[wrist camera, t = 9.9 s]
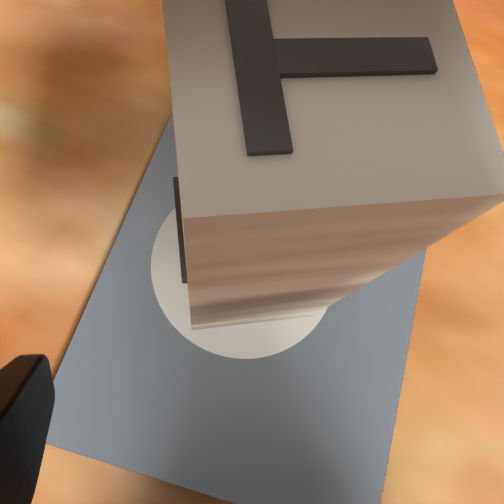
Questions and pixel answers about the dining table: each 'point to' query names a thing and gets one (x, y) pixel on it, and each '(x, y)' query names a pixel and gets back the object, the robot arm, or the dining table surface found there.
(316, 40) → the letter block
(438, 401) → the dining table surface
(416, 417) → the dining table surface
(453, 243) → the dining table surface
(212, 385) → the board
